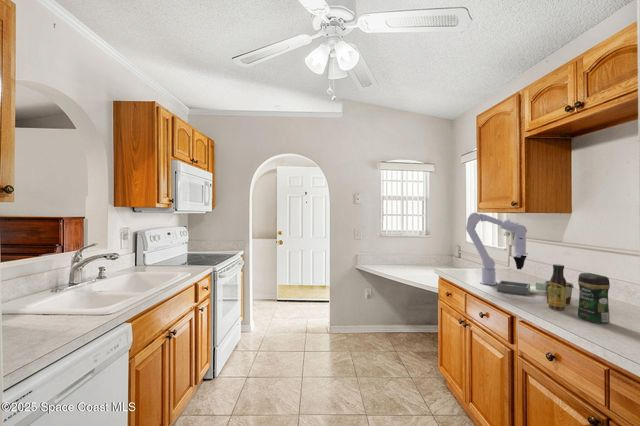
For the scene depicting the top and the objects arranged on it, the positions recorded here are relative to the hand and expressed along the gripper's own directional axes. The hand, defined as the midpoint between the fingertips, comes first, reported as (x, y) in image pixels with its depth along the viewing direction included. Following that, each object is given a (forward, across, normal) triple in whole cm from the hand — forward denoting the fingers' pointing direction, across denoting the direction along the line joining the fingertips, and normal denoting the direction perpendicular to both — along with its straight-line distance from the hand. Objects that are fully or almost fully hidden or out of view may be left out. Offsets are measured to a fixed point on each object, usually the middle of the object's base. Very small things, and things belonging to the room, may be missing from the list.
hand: (520, 268), depth 190 cm
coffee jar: (+11, -53, -31) cm, 62 cm away
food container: (+11, -31, -18) cm, 37 cm away
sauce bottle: (+11, -43, -19) cm, 48 cm away
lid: (+11, -2, -12) cm, 17 cm away
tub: (+10, -17, +1) cm, 20 cm away
